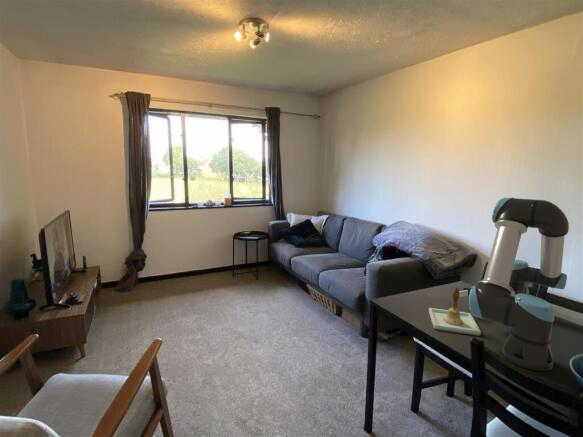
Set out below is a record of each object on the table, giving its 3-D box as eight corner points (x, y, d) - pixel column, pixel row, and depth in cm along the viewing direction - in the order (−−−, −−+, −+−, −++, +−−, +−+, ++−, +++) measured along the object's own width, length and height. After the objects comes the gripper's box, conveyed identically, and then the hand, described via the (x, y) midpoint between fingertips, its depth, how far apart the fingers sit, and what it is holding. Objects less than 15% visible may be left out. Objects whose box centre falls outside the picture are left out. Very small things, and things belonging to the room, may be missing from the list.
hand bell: (444, 315, 150) (448, 283, 148) (464, 320, 146) (468, 287, 143) (441, 321, 144) (444, 288, 141) (461, 327, 139) (465, 293, 136)
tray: (480, 335, 134) (480, 331, 134) (434, 329, 139) (434, 324, 138) (469, 316, 151) (470, 313, 151) (428, 311, 156) (429, 307, 156)
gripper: (527, 312, 144) (494, 319, 136) (477, 291, 167) (447, 297, 159) (529, 296, 143) (497, 303, 135) (479, 278, 166) (448, 283, 158)
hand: (470, 300), depth 147 cm, fingers open, 13 cm apart
